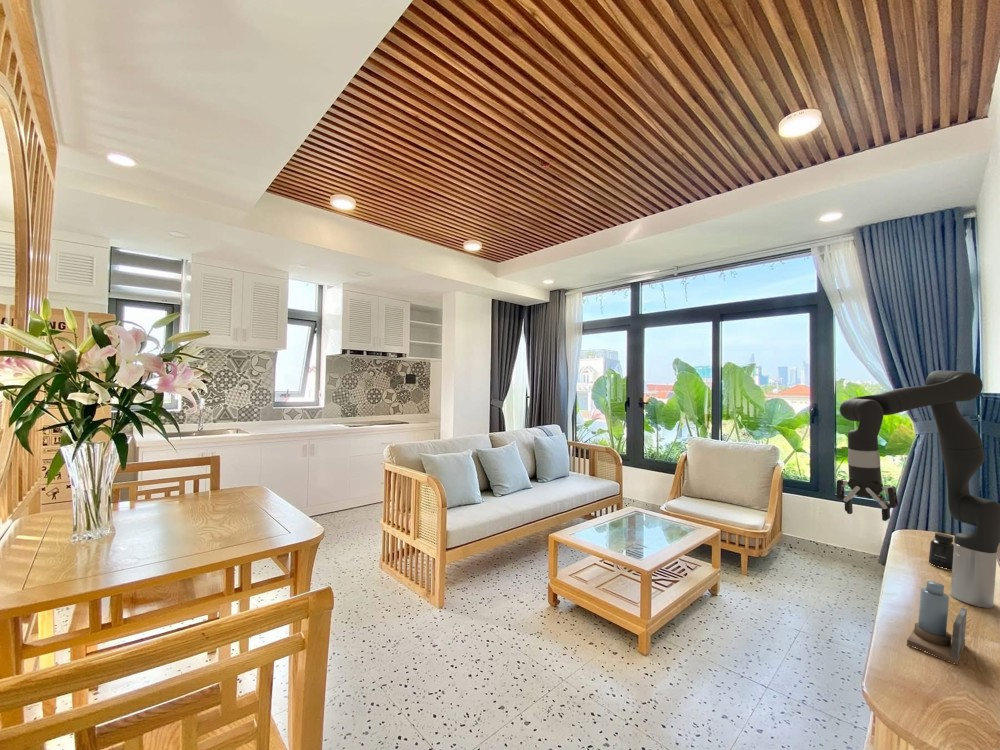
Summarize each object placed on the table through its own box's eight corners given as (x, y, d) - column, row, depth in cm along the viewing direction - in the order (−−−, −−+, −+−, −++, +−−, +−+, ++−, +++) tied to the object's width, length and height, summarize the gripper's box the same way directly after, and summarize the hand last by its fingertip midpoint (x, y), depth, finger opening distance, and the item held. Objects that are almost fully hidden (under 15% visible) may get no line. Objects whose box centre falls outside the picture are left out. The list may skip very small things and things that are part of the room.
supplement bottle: (934, 568, 160) (936, 536, 160) (924, 560, 166) (926, 530, 166) (959, 572, 157) (961, 540, 157) (947, 564, 164) (950, 533, 164)
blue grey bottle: (920, 621, 117) (923, 577, 116) (947, 631, 112) (951, 585, 112) (916, 628, 113) (919, 582, 113) (944, 638, 109) (948, 591, 109)
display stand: (917, 627, 120) (920, 594, 120) (964, 644, 113) (967, 609, 113) (906, 645, 112) (909, 609, 111) (957, 665, 104) (959, 627, 104)
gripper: (898, 465, 127) (902, 520, 127) (841, 458, 139) (843, 508, 139) (889, 469, 123) (893, 526, 123) (831, 462, 135) (833, 513, 135)
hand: (866, 516), depth 131 cm, fingers open, 8 cm apart
